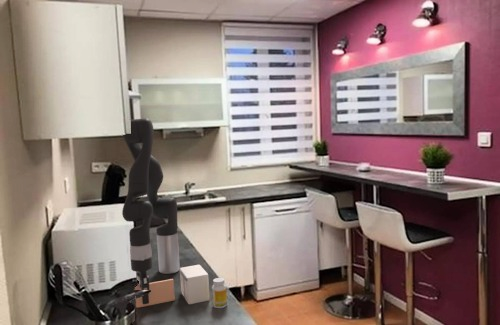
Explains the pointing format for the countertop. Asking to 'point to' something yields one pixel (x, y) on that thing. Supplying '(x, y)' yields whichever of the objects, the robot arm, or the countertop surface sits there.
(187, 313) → the countertop surface
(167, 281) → the ticket
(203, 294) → the white rectangular block
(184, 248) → the countertop surface
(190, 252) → the countertop surface
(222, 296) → the supplement bottle
